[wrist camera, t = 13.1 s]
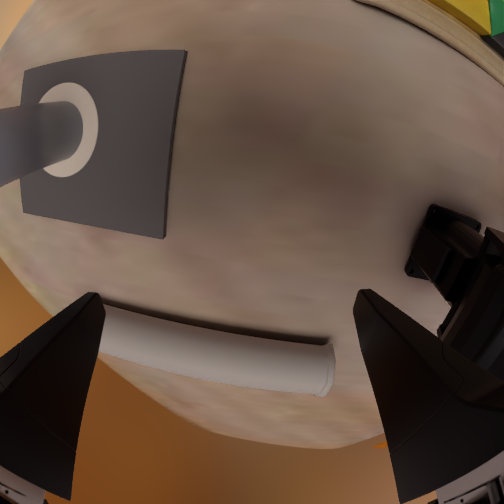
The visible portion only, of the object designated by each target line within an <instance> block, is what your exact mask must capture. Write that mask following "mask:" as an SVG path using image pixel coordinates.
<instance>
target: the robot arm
mask: <svg viewBox="0 0 504 504" xmlns="http://www.w3.org/2000/svg"><path fill="white" fill-rule="evenodd" d="M434 209H436V211H435V212H434V213H433V211H434ZM476 226H477V227H476ZM480 229H481V223H480V222H478V221H477V220H475V219H472V218H470V217H467V216H465V215H463V214H460V213H458V212H455V211H453V210H450V209H447V208H445V207H442V206H439V205H437V204H432V205H431V206H430V207H429V210H428V212H427V215H426V218H425V221H424V223H423V226H422V228H421V230H420V233H419V235H418V238H417V240H416V243H415V245H414V248H413V250H412V252H411V256H410V258H409V260H408V263H407V265H406V267H405V273H406V274H407V276H409V277H415V278H420V279H425V280H430V281H431V282H432V283H433V284H434V285H435V287H436V288H437V289H438V291H439V292H440V294H441V295H442V296H443V298H444V299H445V300H446V301H447V302H448V304H449V305H450V306H451V309H450V311H449V313H448V314H447V316H446V318H445V320H444V321H443V323H442V324H440V326H439V327H438V329H437V335H438V337H437V336H435V335H434V334H433V333H431V332H430V331H429V330H427V329H426V328H424V327H423V326H422V325H420V324H419V323H418V322H416V321H415V320H414V319H412V318H411V317H409V316H408V315H407V314H405V313H404V312H402V311H401V310H400V309H398V308H397V307H395V306H394V305H393V304H391V303H390V302H388V301H387V300H386V299H384V298H383V297H381V296H380V295H378V294H377V293H376V292H374V291H373V290H371V289H360V290H359V291H358V293H357V297H356V300H355V304H354V307H353V315H354V319H355V324H356V329H357V333H358V338H359V343H360V348H361V352H362V355H363V358H364V362H365V365H366V368H367V371H368V375H369V378H370V381H371V385H372V388H373V391H374V395H375V398H376V402H377V406H378V409H379V413H380V417H381V420H382V424H383V428H384V432H385V436H386V440H387V444H388V448H389V453H390V457H391V462H392V467H393V471H394V476H395V481H396V486H397V492H398V497H399V502H400V504H403V503H405V502H408V501H411V500H413V499H416V498H418V497H421V496H422V495H425V494H428V493H430V492H432V491H434V490H436V494H437V499H435V500H433V501H431V502H429V503H428V504H504V233H503V232H501V231H498V230H496V229H493V228H490V227H486V230H485V233H484V234H485V237H483V236H482V235H480V234H479V232H480ZM410 269H412V270H411V271H409V270H410ZM105 318H106V311H105V308H104V305H103V303H102V300H101V297H100V295H99V294H98V293H96V292H88V293H86V294H85V295H83V296H82V297H80V298H79V299H77V300H76V301H75V302H73V303H72V304H70V305H69V306H68V307H66V308H65V309H63V310H62V311H61V312H59V313H58V314H57V315H55V316H54V317H53V318H51V319H50V320H49V321H47V322H46V323H44V324H43V325H42V326H40V327H39V328H38V329H37V330H35V331H34V332H33V333H31V334H30V335H29V336H27V337H26V338H25V339H24V340H22V341H21V343H18V344H17V345H16V346H15V347H13V348H12V349H11V350H10V351H8V352H7V353H6V354H4V355H3V356H2V357H0V504H48V502H47V500H46V499H44V495H45V490H46V491H48V492H50V493H52V494H55V495H57V496H59V497H62V498H64V499H66V500H69V501H70V499H71V491H72V480H73V472H74V464H75V456H76V452H75V451H76V449H77V443H78V437H79V432H80V426H81V421H82V416H83V411H84V407H85V402H86V398H87V393H88V390H89V386H90V381H91V378H92V374H93V370H94V366H95V363H96V359H97V356H98V352H99V347H100V342H101V337H102V332H103V327H104V322H105Z"/></svg>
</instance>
